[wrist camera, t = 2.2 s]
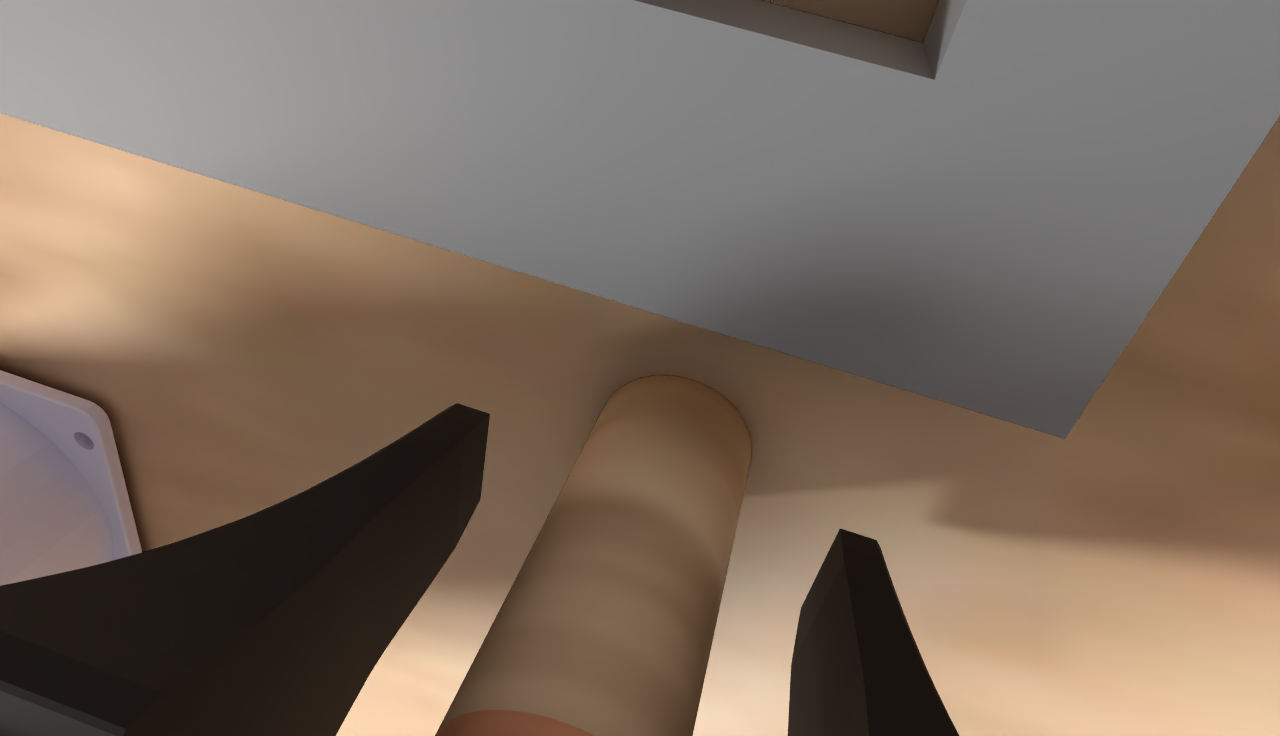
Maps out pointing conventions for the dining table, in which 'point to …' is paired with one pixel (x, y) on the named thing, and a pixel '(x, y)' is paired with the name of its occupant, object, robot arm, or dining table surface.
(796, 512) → the dining table surface
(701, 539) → the plug
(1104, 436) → the dining table surface
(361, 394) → the dining table surface
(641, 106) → the socket board
